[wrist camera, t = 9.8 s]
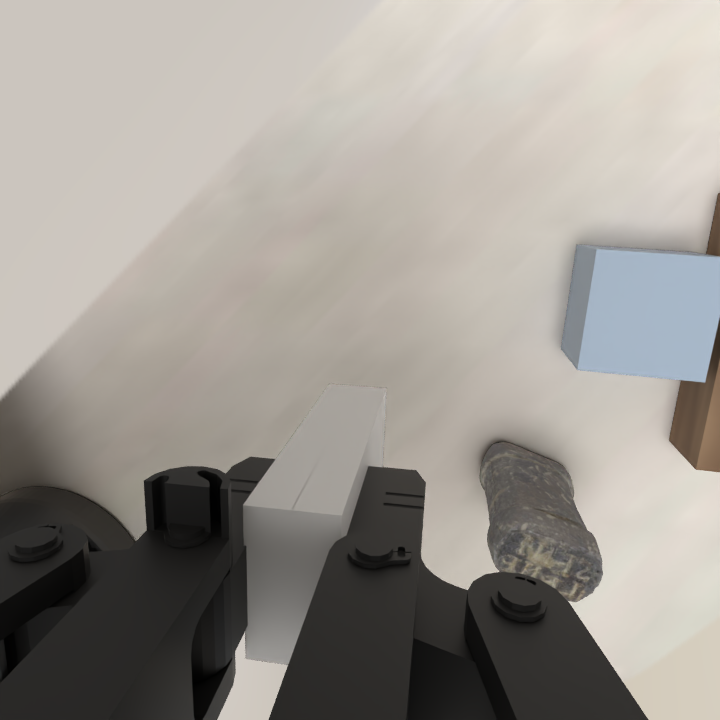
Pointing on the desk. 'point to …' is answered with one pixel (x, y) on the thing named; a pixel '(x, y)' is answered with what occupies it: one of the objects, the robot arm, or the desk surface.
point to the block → (642, 312)
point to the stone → (538, 522)
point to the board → (701, 398)
